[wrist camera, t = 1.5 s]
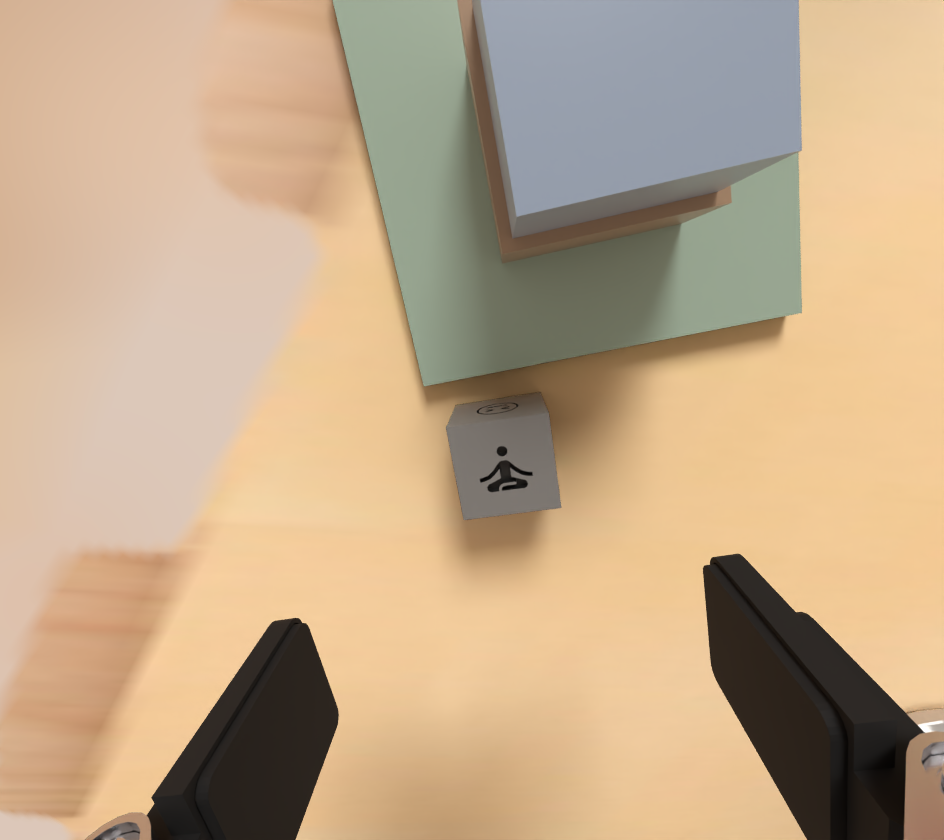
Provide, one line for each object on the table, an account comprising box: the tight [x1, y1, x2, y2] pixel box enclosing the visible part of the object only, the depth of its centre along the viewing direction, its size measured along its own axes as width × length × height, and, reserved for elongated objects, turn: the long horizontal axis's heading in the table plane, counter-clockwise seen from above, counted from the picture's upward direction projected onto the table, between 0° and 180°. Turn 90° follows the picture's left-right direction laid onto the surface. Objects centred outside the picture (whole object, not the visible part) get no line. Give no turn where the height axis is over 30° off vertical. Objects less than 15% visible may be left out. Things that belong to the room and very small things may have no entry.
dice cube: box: [446, 392, 561, 520], centre depth 25 cm, size 5×5×5 cm
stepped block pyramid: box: [333, 0, 802, 386], centre depth 17 cm, size 20×20×11 cm
